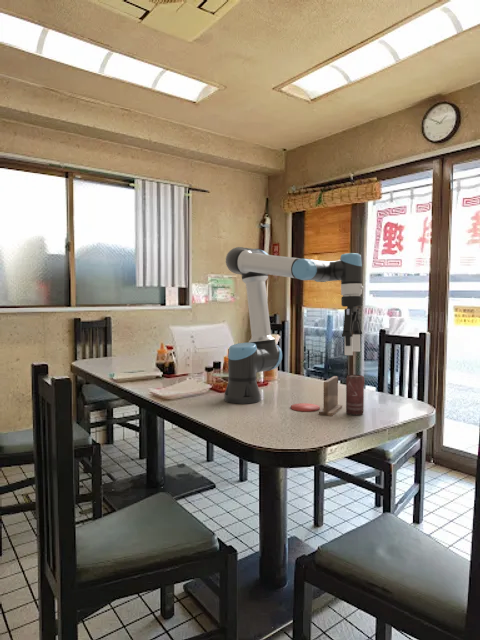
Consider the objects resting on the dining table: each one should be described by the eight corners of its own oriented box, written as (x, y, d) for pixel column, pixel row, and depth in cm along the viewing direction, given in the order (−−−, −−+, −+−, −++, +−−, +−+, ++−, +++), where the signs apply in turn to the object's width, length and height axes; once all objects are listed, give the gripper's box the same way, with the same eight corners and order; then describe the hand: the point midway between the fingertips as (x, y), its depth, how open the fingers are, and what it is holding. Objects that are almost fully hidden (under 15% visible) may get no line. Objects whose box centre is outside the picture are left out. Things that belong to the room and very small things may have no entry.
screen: (318, 414, 161) (318, 381, 161) (329, 406, 174) (329, 375, 173) (332, 416, 159) (332, 382, 159) (342, 407, 171) (342, 376, 171)
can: (364, 416, 159) (365, 377, 158) (346, 415, 160) (346, 376, 159) (363, 412, 165) (363, 374, 164) (345, 411, 166) (346, 373, 165)
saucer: (286, 409, 169) (286, 408, 169) (296, 403, 178) (296, 402, 178) (314, 412, 164) (314, 411, 164) (323, 406, 173) (323, 405, 173)
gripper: (355, 294, 151) (356, 356, 152) (368, 296, 174) (369, 350, 174) (333, 295, 155) (334, 356, 155) (348, 296, 177) (349, 350, 177)
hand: (352, 353), depth 165 cm, fingers open, 13 cm apart
